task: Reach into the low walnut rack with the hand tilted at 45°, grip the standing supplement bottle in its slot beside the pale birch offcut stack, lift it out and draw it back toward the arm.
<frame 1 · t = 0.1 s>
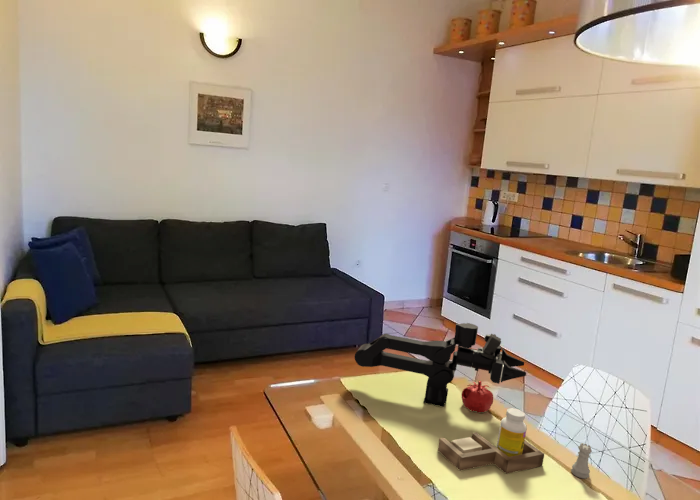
hand: (525, 368, 159), 17 cm above the table, tool horizontal, fingers open, 9 cm apart
supplement bottle: (507, 458, 139), resting in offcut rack
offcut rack: (507, 457, 139), on the table
pomegranate: (475, 408, 167), on the table
offcut stack: (465, 456, 137), resting in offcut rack
rook chess piece: (579, 475, 135), on the table
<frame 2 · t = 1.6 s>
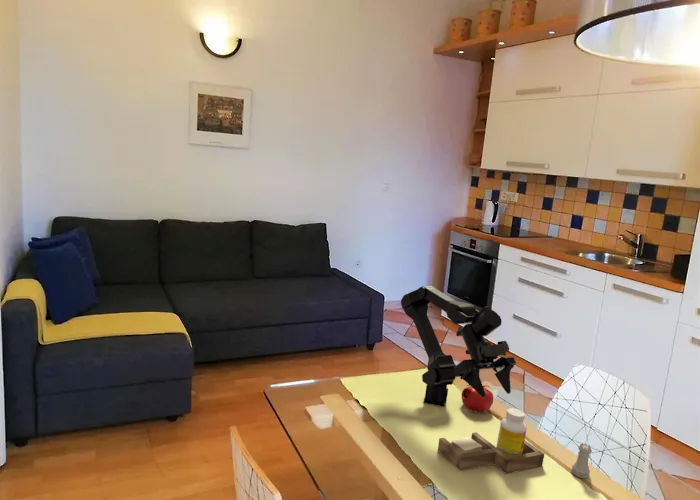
hand: (496, 395, 144), 14 cm above the table, tool tilted 45°, fingers open, 9 cm apart
nothing on the table moved.
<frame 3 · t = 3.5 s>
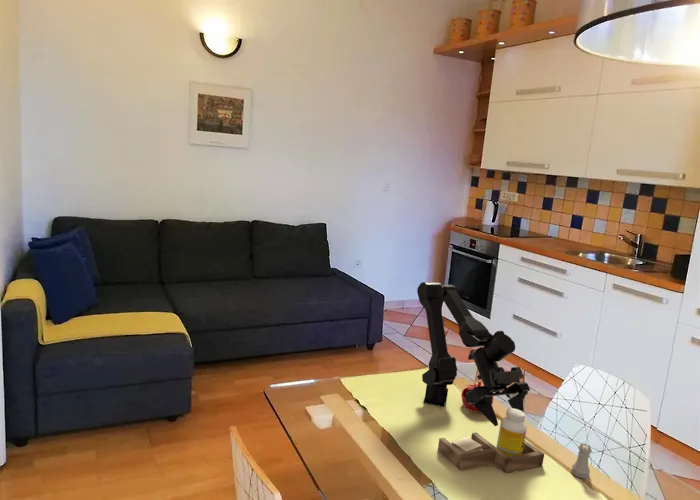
hand: (509, 423, 139), 9 cm above the table, tool tilted 45°, fingers open, 9 cm apart
nothing on the table moved.
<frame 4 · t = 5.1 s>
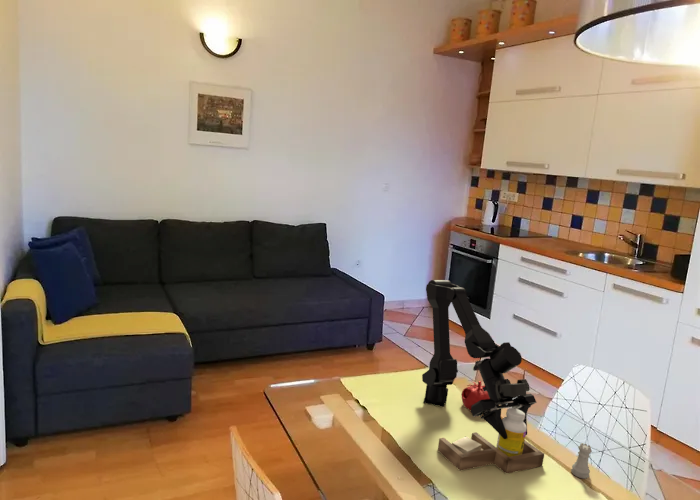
hand: (515, 437, 137), 7 cm above the table, tool tilted 45°, fingers closed on supplement bottle, 7 cm apart
supplement bottle: (507, 457, 139), resting in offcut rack, touching gripper
everything else where it was.
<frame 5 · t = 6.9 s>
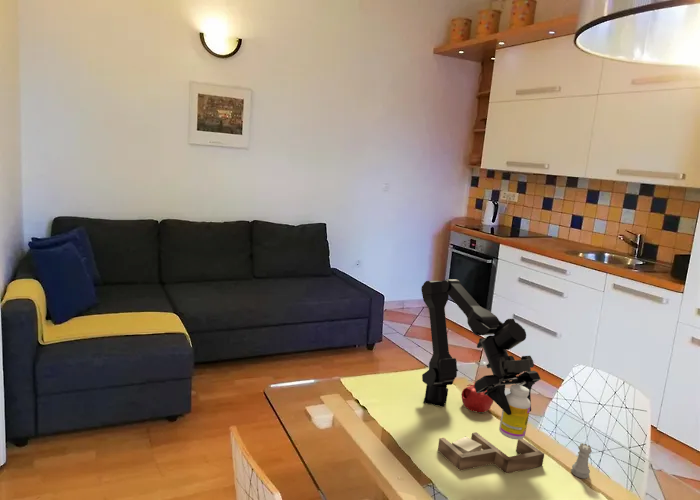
hand: (519, 413, 136), 13 cm above the table, tool tilted 45°, fingers closed on supplement bottle, 7 cm apart
supplement bottle: (511, 434, 138), point 6 cm above the table, touching gripper
everything else where it was.
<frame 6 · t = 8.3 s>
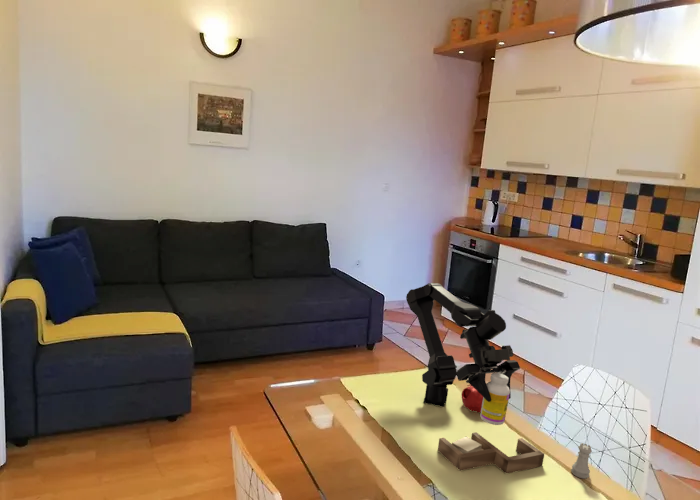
hand: (499, 400, 142), 13 cm above the table, tool tilted 45°, fingers closed on supplement bottle, 7 cm apart
supplement bottle: (491, 420, 145), point 6 cm above the table, touching gripper
everything else where it was.
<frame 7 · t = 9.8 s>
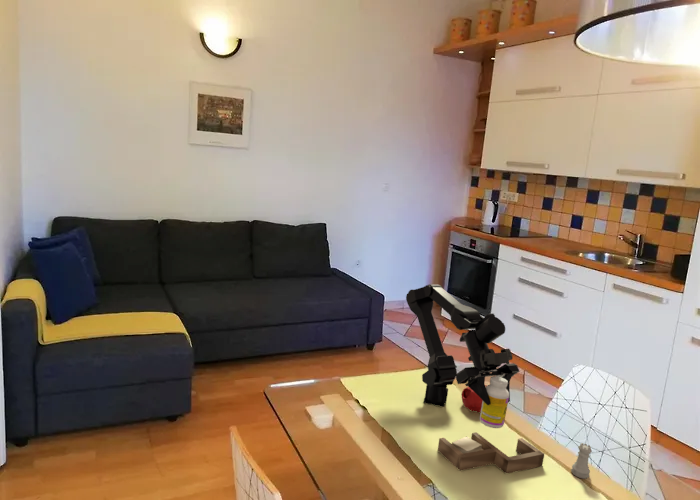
hand: (498, 403, 143), 12 cm above the table, tool tilted 45°, fingers closed on supplement bottle, 7 cm apart
supplement bottle: (491, 423, 145), point 5 cm above the table, touching gripper
everything else where it was.
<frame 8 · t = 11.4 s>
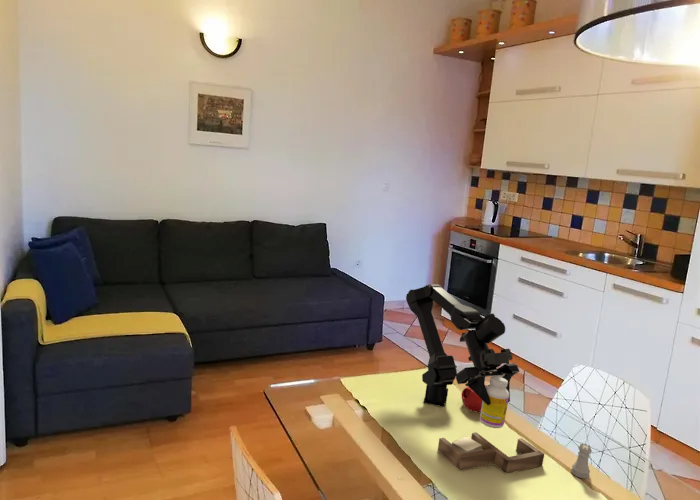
hand: (498, 403, 143), 12 cm above the table, tool tilted 45°, fingers closed on supplement bottle, 7 cm apart
supplement bottle: (491, 423, 145), point 5 cm above the table, touching gripper
everything else where it was.
at the end: the gripper is holding supplement bottle; supplement bottle point 5.5 cm above the table; offcut stack moved 0.4 cm from its start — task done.
